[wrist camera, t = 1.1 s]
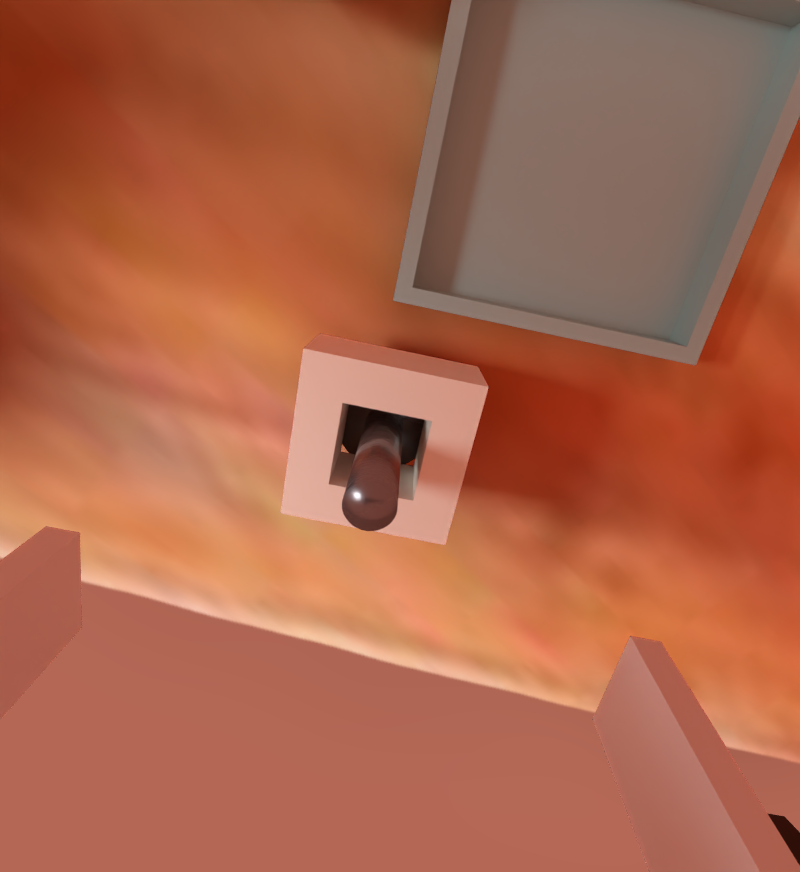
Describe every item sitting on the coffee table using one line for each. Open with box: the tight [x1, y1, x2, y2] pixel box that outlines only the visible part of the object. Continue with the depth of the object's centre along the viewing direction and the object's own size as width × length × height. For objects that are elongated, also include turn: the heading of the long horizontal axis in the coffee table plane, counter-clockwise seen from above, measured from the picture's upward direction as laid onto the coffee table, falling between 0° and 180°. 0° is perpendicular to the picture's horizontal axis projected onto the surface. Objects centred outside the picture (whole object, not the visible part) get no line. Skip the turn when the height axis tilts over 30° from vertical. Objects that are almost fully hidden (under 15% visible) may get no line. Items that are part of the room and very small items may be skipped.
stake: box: [342, 404, 424, 531], centre depth 24 cm, size 5×5×12 cm
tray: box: [393, 0, 800, 366], centre depth 24 cm, size 16×16×2 cm
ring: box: [281, 333, 489, 545], centre depth 25 cm, size 8×8×4 cm
